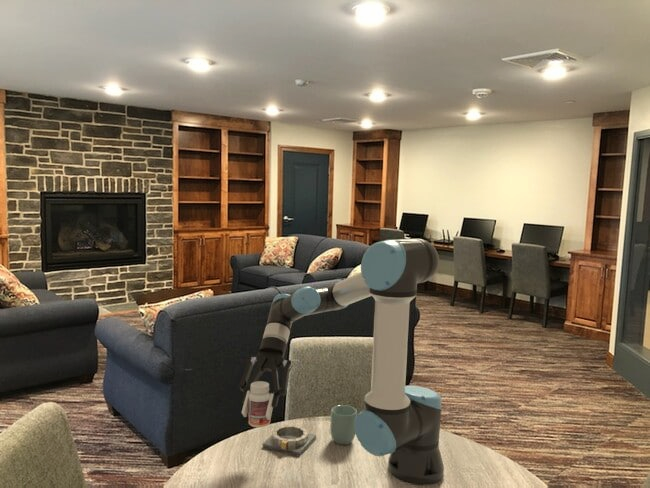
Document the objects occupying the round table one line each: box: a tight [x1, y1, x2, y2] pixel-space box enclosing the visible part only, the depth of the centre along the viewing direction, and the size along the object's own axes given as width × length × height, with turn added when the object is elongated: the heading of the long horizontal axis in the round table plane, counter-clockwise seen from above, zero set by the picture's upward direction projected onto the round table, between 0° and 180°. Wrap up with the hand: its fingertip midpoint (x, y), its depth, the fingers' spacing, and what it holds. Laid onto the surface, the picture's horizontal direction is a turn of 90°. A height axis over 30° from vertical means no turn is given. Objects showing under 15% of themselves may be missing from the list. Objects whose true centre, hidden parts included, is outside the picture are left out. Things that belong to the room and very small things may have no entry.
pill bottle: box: [247, 380, 271, 428], centre depth 151 cm, size 6×6×11 cm
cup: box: [330, 404, 358, 446], centre depth 164 cm, size 8×8×10 cm
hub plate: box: [262, 424, 317, 457], centre depth 162 cm, size 12×12×3 cm
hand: (255, 416), depth 148 cm, fingers closed on pill bottle, 6 cm apart
